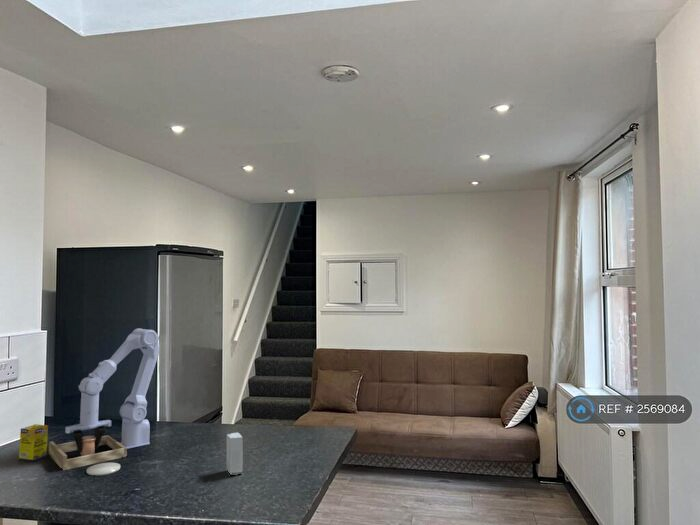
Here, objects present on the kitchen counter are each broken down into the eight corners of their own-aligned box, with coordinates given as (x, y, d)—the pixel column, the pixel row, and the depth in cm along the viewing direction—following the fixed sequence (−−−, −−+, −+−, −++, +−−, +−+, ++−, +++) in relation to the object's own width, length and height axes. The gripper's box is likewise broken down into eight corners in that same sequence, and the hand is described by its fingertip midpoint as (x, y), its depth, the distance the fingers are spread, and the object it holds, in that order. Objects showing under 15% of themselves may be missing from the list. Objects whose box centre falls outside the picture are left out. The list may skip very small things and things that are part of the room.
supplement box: (32, 462, 166) (34, 429, 167) (18, 460, 168) (19, 428, 168) (47, 456, 172) (48, 425, 173) (32, 455, 173) (34, 423, 174)
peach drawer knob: (93, 451, 177) (93, 434, 178) (97, 455, 174) (98, 438, 174) (77, 454, 174) (78, 437, 174) (82, 458, 170) (82, 440, 171)
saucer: (114, 462, 168) (114, 460, 168) (124, 470, 160) (124, 468, 160) (82, 469, 161) (82, 467, 161) (91, 478, 154) (91, 476, 154)
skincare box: (243, 474, 158) (244, 437, 159) (229, 476, 156) (230, 438, 157) (238, 468, 164) (239, 431, 165) (225, 470, 162) (226, 433, 163)
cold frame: (108, 443, 188) (108, 431, 188) (126, 456, 173) (127, 443, 174) (48, 454, 174) (49, 441, 174) (63, 470, 160) (63, 456, 160)
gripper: (69, 417, 167) (68, 457, 166) (114, 410, 177) (113, 448, 176) (64, 413, 172) (62, 452, 171) (108, 406, 182) (106, 443, 181)
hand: (87, 449), depth 174 cm, fingers closed on peach drawer knob, 5 cm apart
